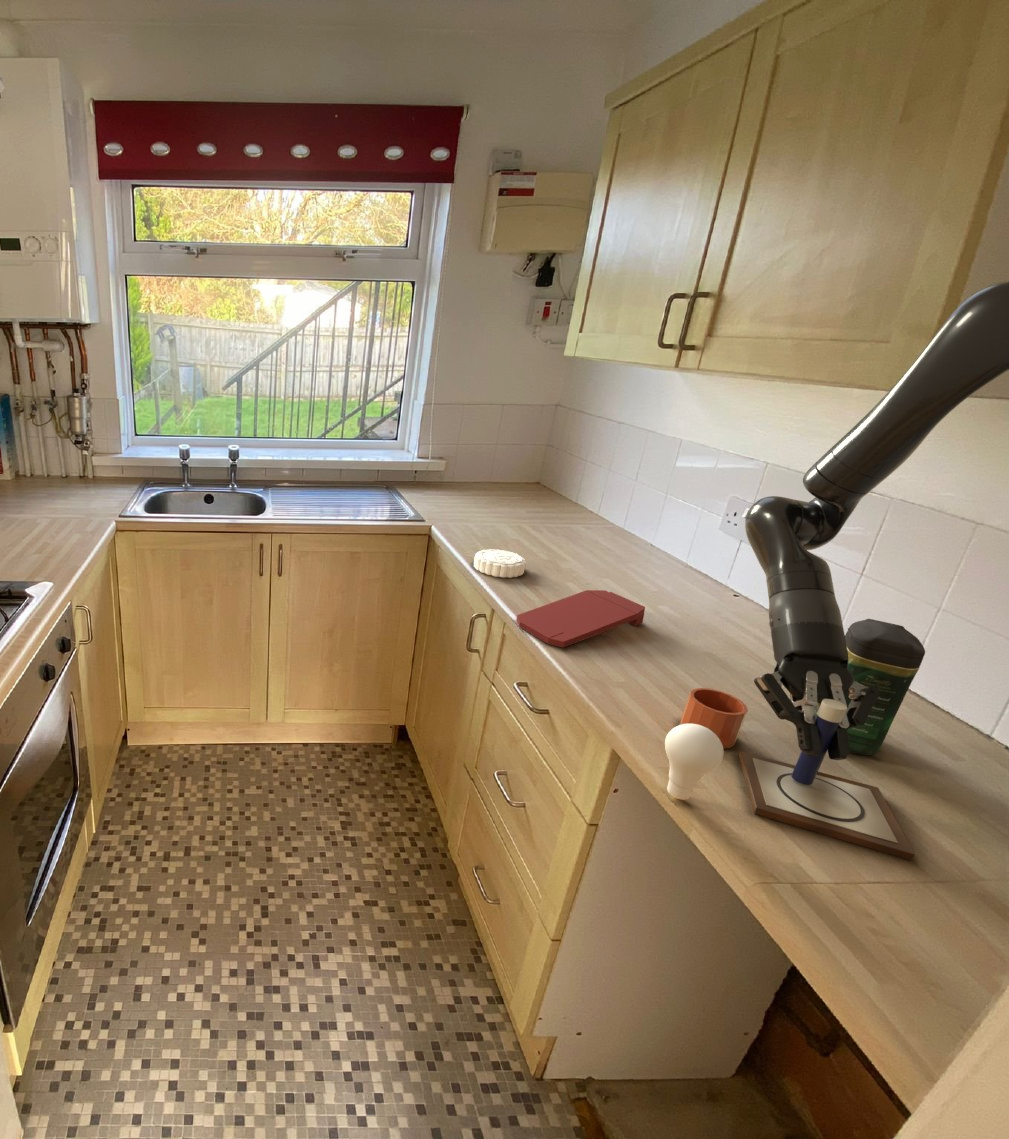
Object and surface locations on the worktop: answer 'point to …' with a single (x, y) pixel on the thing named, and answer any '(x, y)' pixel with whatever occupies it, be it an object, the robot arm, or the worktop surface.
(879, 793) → the picture frame
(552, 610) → the red flat slab
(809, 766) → the cylinder
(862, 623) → the coffee jar
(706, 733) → the lightbulb
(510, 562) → the mooncake
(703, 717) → the pen pot
